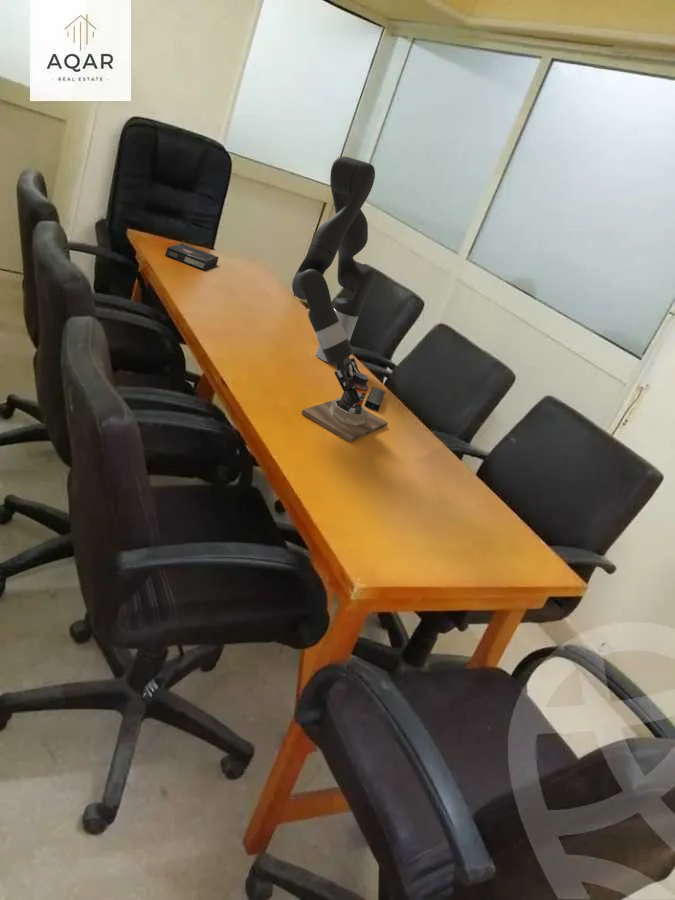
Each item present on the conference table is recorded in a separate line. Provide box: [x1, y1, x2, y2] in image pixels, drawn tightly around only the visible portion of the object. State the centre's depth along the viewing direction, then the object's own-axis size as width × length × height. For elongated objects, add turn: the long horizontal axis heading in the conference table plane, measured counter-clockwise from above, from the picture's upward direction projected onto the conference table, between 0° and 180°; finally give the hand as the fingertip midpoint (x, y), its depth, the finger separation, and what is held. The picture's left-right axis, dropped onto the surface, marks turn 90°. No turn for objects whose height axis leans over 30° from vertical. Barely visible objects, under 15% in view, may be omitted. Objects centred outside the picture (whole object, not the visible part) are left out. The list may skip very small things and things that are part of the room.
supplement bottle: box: [338, 372, 369, 414], centre depth 186 cm, size 6×6×11 cm
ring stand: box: [301, 397, 389, 443], centre depth 189 cm, size 22×16×4 cm
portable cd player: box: [164, 242, 219, 271], centre depth 284 cm, size 16×17×4 cm
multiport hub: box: [363, 386, 386, 412], centre depth 210 cm, size 4×14×2 cm, turn 170°
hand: (359, 398), depth 186 cm, fingers closed on supplement bottle, 6 cm apart
